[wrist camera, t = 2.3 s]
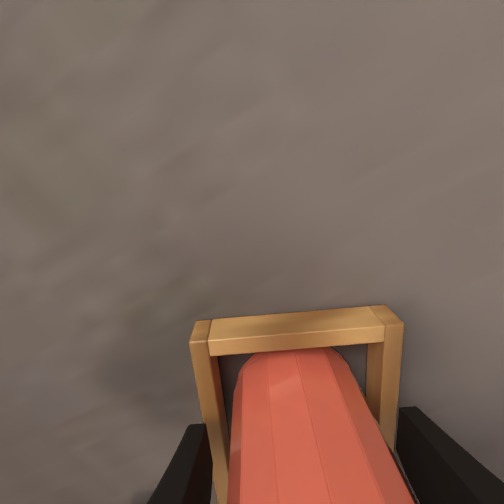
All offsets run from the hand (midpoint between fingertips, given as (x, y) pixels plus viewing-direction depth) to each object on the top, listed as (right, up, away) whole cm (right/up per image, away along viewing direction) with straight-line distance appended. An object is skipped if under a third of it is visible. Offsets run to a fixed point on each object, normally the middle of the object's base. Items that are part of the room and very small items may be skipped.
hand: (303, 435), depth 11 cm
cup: (0, +1, +2) cm, 2 cm away
